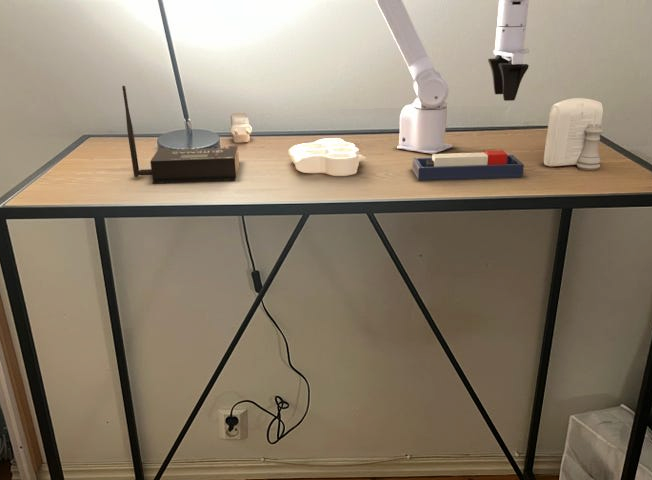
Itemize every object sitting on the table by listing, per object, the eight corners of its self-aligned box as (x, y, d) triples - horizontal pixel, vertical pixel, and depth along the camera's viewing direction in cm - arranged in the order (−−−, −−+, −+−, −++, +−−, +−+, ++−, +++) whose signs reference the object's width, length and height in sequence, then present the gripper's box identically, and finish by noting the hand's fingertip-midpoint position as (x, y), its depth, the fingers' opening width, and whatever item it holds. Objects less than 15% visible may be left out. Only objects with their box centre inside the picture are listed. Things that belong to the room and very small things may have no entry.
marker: (427, 174, 136) (428, 156, 134) (425, 169, 139) (425, 152, 137) (505, 171, 136) (507, 154, 135) (501, 167, 139) (503, 150, 138)
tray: (418, 181, 134) (418, 168, 133) (412, 170, 141) (412, 158, 140) (522, 177, 135) (524, 164, 134) (511, 167, 141) (512, 154, 140)
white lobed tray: (287, 156, 153) (354, 152, 155) (298, 179, 137) (373, 174, 139) (286, 140, 151) (354, 136, 153) (297, 161, 136) (373, 156, 138)
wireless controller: (239, 162, 149) (232, 74, 141) (235, 181, 137) (228, 85, 129) (143, 166, 149) (130, 78, 140) (130, 184, 137) (115, 89, 128)
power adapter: (254, 148, 161) (252, 120, 158) (232, 149, 160) (230, 122, 157) (250, 137, 170) (248, 111, 167) (229, 138, 170) (227, 112, 167)
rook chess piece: (604, 167, 140) (611, 124, 136) (593, 172, 137) (600, 128, 133) (583, 163, 142) (589, 121, 138) (571, 167, 140) (578, 125, 136)
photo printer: (586, 159, 145) (596, 95, 139) (598, 164, 141) (608, 98, 135) (539, 163, 143) (547, 98, 137) (550, 168, 140) (558, 101, 134)
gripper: (542, 28, 138) (533, 102, 144) (521, 22, 150) (514, 90, 157) (505, 29, 138) (498, 103, 144) (487, 23, 150) (482, 91, 157)
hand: (504, 97), depth 151 cm, fingers open, 7 cm apart
